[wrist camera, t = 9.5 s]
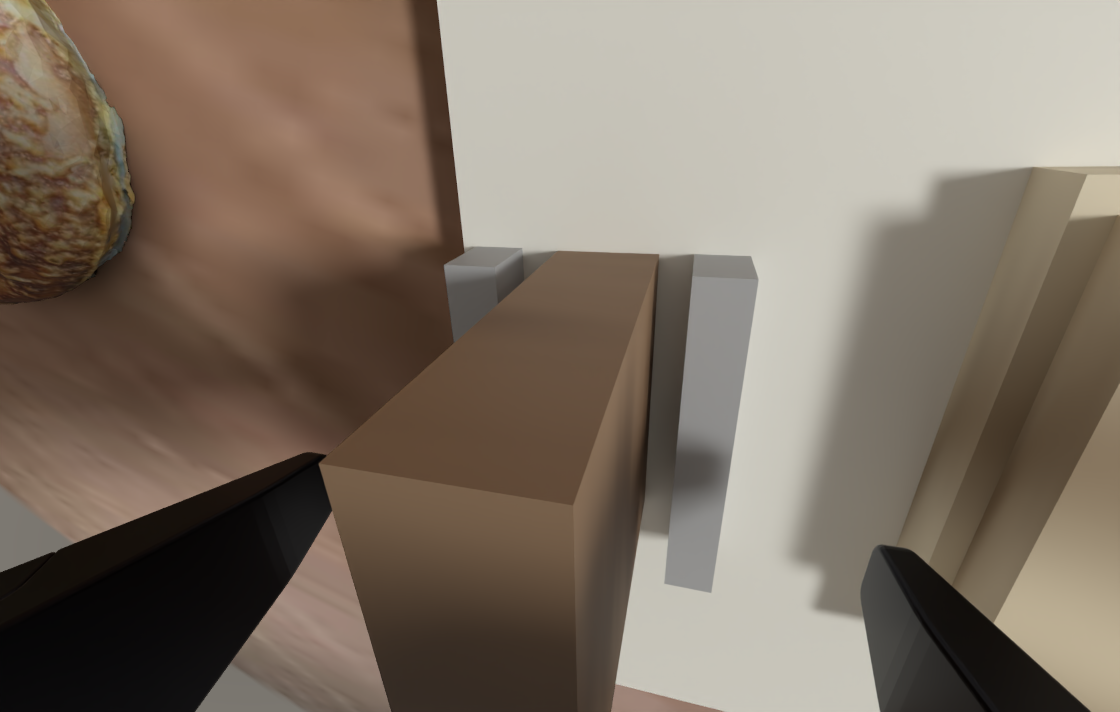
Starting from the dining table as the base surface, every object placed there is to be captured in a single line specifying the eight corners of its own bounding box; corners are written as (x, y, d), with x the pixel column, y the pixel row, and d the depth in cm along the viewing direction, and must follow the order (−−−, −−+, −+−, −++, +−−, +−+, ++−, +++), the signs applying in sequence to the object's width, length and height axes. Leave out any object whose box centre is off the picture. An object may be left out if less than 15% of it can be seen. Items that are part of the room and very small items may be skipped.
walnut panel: (644, 499, 12) (581, 896, 6) (564, 486, 12) (429, 840, 6) (659, 254, 9) (573, 506, 3) (558, 250, 10) (317, 463, 4)
